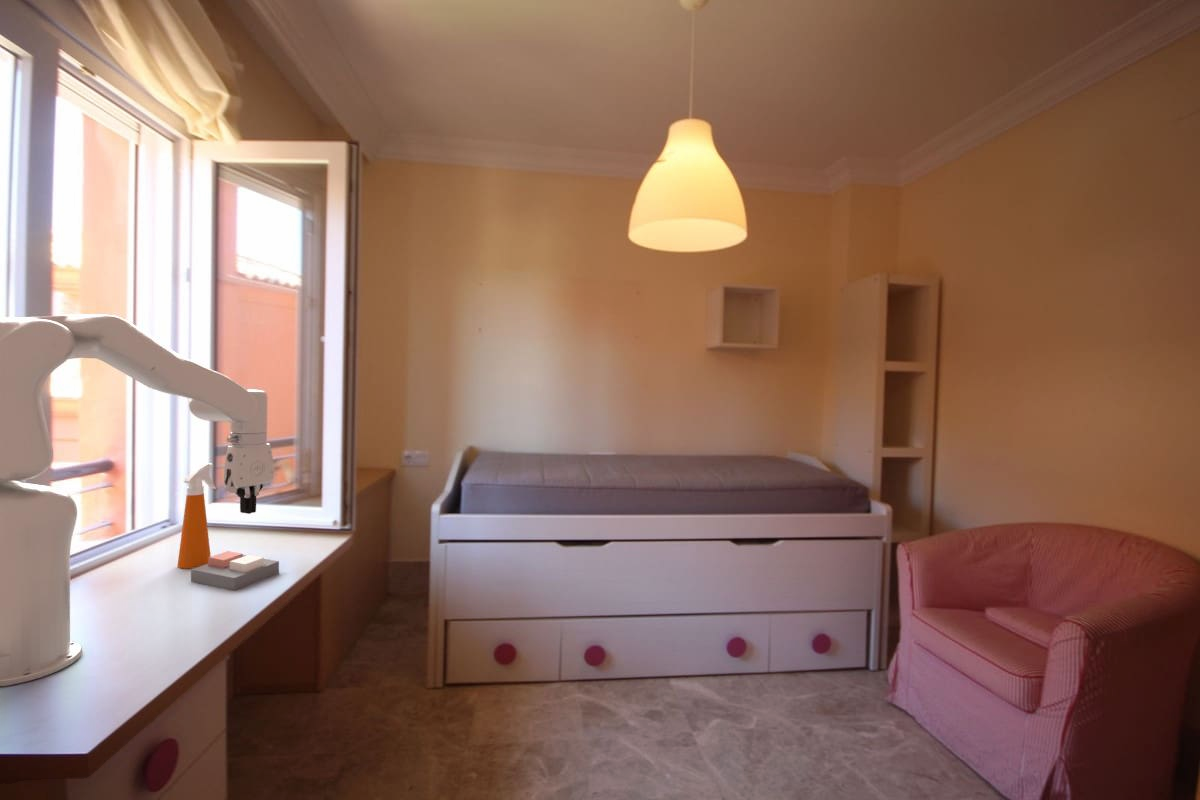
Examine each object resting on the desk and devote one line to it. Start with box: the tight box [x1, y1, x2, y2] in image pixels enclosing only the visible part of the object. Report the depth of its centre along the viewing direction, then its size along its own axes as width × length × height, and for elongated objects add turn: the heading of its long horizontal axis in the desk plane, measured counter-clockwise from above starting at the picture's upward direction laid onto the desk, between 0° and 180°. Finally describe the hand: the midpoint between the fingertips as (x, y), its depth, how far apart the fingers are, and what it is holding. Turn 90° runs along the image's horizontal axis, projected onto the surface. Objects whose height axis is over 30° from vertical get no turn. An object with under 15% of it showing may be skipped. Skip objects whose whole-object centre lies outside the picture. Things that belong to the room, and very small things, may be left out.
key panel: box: [190, 554, 280, 591], centre depth 129 cm, size 12×14×3 cm
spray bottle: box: [177, 462, 217, 570], centre depth 138 cm, size 7×11×26 cm, turn 2°
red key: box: [208, 550, 244, 569], centre depth 130 cm, size 5×5×2 cm
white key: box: [230, 554, 265, 573], centre depth 128 cm, size 5×5×2 cm
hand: (248, 512), depth 128 cm, fingers closed
